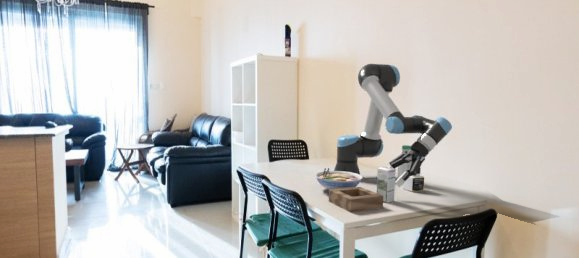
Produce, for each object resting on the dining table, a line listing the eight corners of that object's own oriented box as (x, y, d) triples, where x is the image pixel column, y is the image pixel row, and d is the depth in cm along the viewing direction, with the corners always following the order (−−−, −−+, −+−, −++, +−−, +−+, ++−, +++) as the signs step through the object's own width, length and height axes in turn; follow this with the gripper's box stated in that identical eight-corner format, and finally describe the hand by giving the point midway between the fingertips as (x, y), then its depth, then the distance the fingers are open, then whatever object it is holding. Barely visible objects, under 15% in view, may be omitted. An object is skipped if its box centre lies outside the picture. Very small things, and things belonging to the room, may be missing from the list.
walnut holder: (328, 201, 154) (329, 189, 153) (359, 197, 161) (359, 186, 160) (350, 212, 140) (350, 199, 139) (382, 207, 146) (383, 195, 146)
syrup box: (394, 201, 157) (396, 168, 155) (386, 203, 153) (388, 169, 152) (383, 198, 161) (385, 166, 160) (375, 200, 157) (377, 167, 156)
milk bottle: (401, 184, 188) (403, 146, 186) (394, 181, 195) (396, 144, 193) (415, 184, 189) (417, 146, 187) (407, 180, 197) (409, 144, 195)
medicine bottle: (412, 192, 173) (413, 167, 172) (402, 188, 179) (403, 165, 178) (423, 191, 175) (425, 166, 174) (413, 187, 182) (415, 164, 181)
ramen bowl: (362, 199, 158) (363, 181, 157) (310, 195, 163) (311, 177, 162) (362, 186, 182) (363, 170, 182) (317, 183, 187) (318, 167, 186)
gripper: (445, 157, 146) (409, 194, 144) (413, 148, 170) (382, 180, 169) (434, 144, 144) (398, 181, 143) (403, 137, 169) (372, 169, 167)
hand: (389, 181), depth 156 cm, fingers open, 13 cm apart
